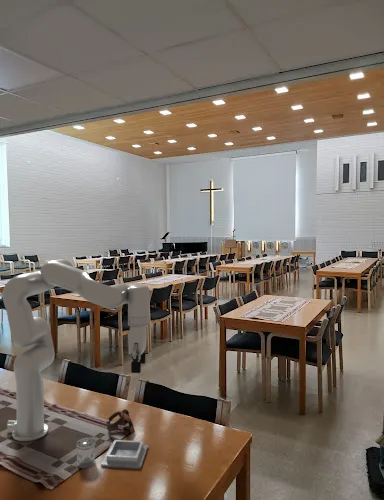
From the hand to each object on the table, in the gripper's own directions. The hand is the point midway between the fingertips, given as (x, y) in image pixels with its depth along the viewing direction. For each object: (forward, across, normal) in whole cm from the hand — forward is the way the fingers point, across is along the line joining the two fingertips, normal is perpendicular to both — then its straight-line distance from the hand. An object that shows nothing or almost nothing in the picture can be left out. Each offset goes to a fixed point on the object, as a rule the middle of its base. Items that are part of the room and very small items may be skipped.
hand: (138, 367), depth 143 cm
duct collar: (+28, +8, -3) cm, 29 cm away
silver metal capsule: (+28, +13, -15) cm, 34 cm away
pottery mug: (+28, -10, -8) cm, 31 cm away
